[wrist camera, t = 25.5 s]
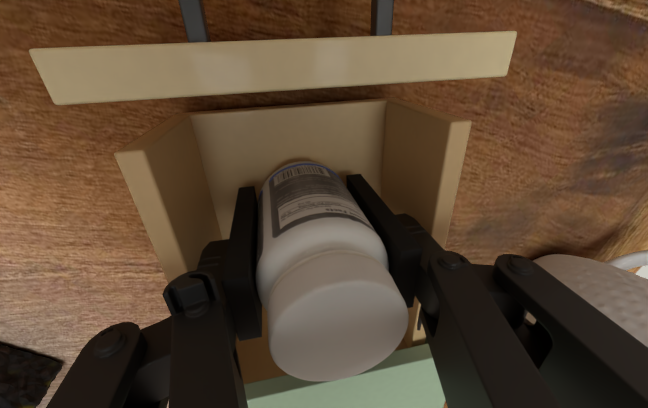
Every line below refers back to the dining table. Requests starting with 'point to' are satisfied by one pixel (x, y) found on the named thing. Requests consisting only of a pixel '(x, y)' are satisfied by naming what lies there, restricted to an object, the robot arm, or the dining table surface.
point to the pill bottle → (323, 277)
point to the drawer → (280, 129)
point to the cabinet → (359, 386)
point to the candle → (24, 378)
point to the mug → (606, 287)
